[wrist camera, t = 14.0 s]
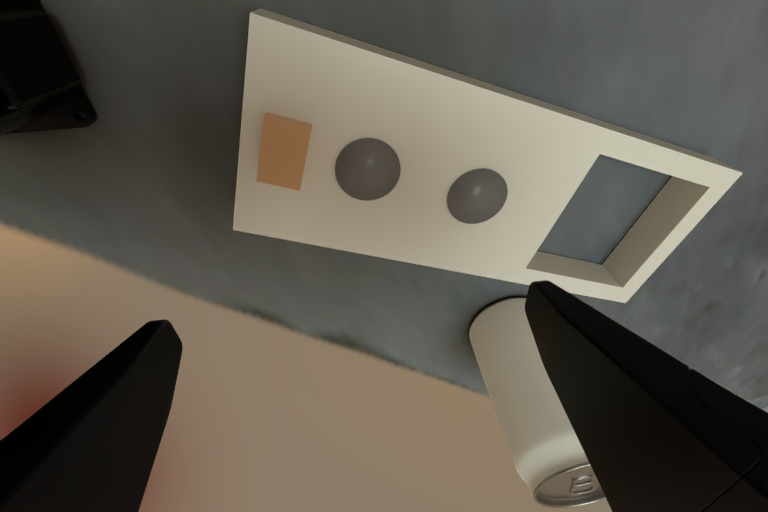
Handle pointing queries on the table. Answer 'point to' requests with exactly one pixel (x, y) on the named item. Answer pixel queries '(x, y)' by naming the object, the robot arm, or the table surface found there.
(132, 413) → the robot arm
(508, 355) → the can
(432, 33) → the table surface
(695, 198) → the control panel
